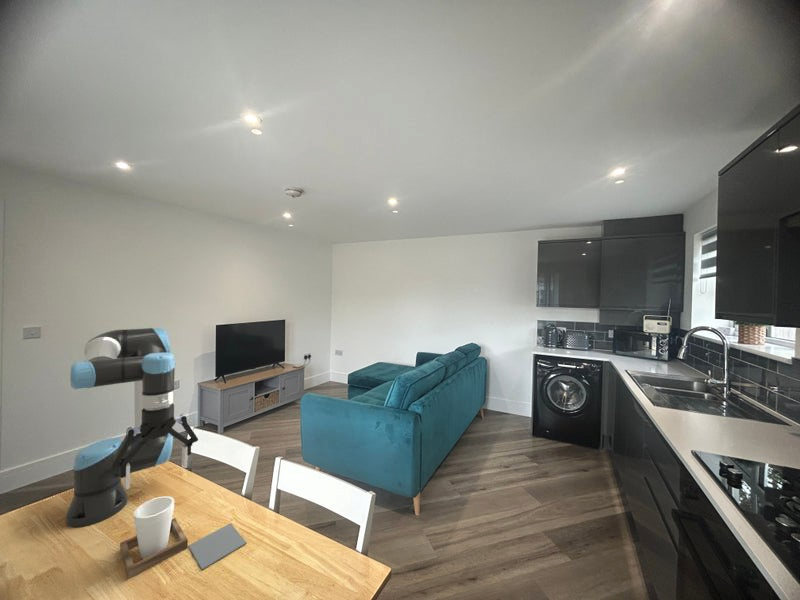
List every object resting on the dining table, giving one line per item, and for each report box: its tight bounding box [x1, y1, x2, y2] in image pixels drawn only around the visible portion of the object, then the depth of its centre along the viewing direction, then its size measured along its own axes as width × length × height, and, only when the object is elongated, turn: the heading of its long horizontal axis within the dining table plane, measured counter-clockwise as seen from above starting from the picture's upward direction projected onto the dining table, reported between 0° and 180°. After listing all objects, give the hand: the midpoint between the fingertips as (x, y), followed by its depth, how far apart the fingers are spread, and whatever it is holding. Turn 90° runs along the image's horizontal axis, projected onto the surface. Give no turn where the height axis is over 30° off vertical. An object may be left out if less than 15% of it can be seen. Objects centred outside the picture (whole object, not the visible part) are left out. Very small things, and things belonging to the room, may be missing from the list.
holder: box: [119, 517, 189, 580], centre depth 90 cm, size 13×13×2 cm
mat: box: [188, 523, 247, 571], centre depth 92 cm, size 12×12×1 cm
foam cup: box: [133, 495, 175, 560], centre depth 90 cm, size 10×9×13 cm
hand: (157, 476), depth 90 cm, fingers open, 13 cm apart
